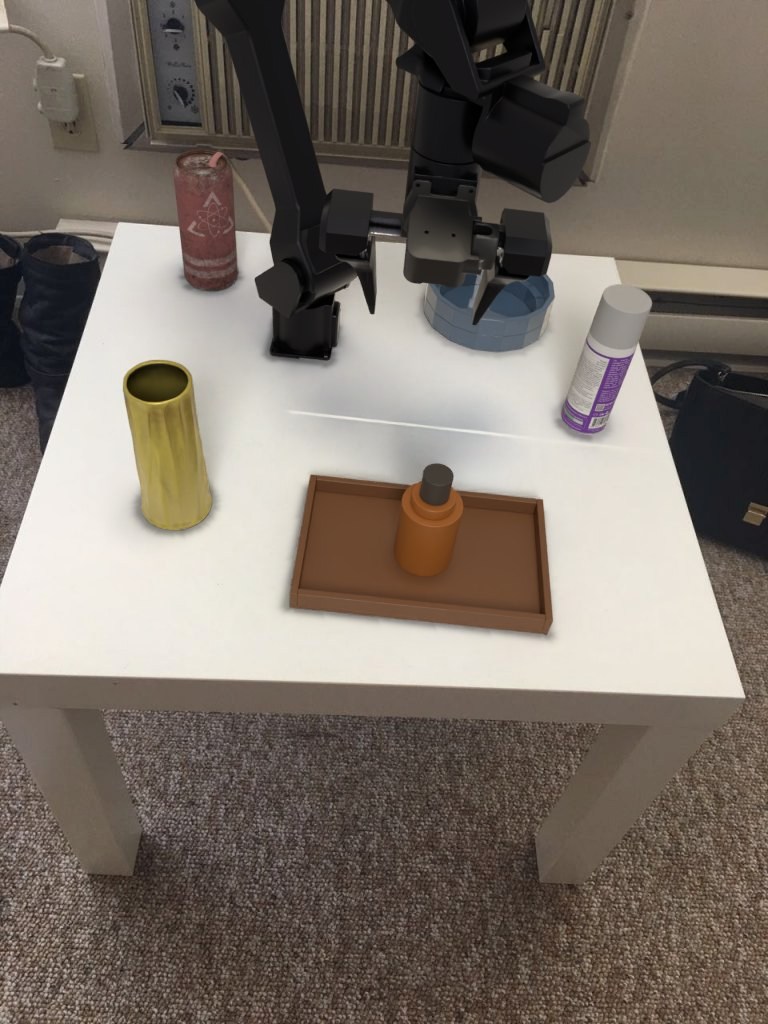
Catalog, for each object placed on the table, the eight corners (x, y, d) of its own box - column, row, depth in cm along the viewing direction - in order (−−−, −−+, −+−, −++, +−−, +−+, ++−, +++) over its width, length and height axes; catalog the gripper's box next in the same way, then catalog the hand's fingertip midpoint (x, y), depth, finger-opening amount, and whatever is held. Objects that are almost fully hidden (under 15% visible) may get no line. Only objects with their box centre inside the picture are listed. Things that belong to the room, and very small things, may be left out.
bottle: (392, 573, 69) (404, 494, 62) (395, 528, 73) (407, 447, 65) (450, 579, 70) (470, 501, 62) (451, 534, 73) (470, 454, 65)
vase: (153, 540, 70) (129, 416, 59) (132, 491, 74) (105, 365, 63) (221, 518, 72) (210, 395, 62) (198, 471, 76) (183, 347, 65)
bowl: (421, 346, 91) (426, 312, 87) (425, 274, 100) (430, 241, 97) (548, 360, 91) (558, 327, 88) (541, 287, 100) (549, 254, 97)
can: (248, 272, 97) (244, 156, 87) (219, 299, 93) (210, 181, 83) (204, 256, 98) (194, 140, 88) (174, 282, 95) (159, 164, 84)
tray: (289, 607, 67) (289, 593, 65) (310, 488, 76) (310, 473, 74) (547, 634, 67) (553, 621, 66) (538, 513, 76) (543, 499, 75)
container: (603, 409, 87) (650, 286, 75) (606, 439, 83) (656, 317, 72) (559, 403, 86) (599, 280, 75) (561, 433, 83) (603, 310, 72)
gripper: (313, 184, 57) (309, 362, 69) (579, 215, 57) (530, 386, 69) (330, 114, 64) (324, 286, 76) (566, 142, 65) (524, 308, 76)
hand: (423, 317), depth 74 cm, fingers open, 9 cm apart
